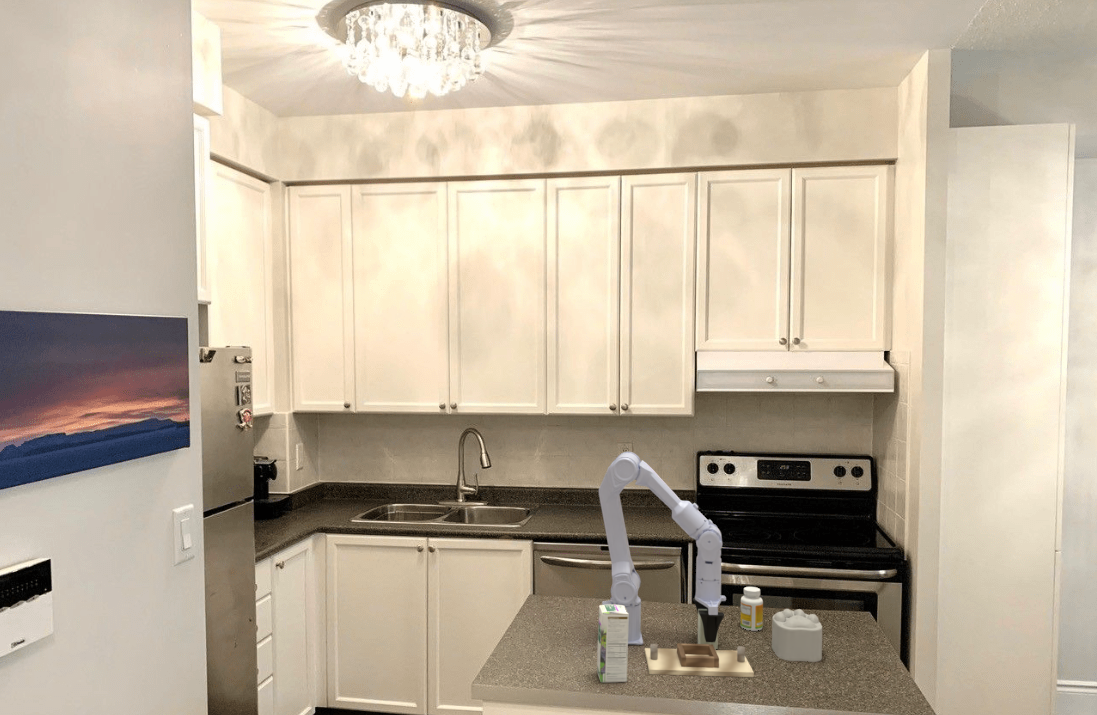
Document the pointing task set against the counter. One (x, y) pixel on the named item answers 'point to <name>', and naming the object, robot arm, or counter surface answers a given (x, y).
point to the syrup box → (612, 643)
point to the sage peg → (701, 633)
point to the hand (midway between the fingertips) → (707, 635)
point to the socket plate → (698, 661)
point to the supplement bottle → (751, 609)
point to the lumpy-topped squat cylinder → (797, 636)
